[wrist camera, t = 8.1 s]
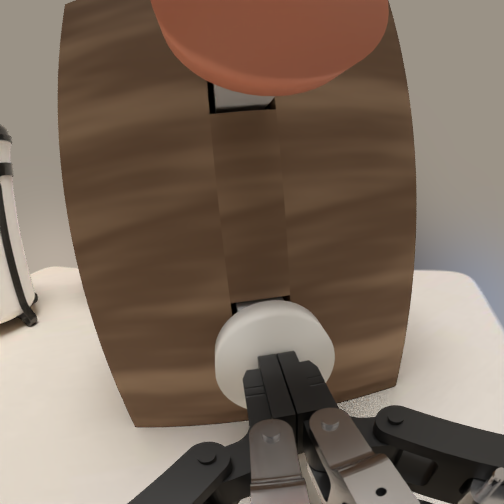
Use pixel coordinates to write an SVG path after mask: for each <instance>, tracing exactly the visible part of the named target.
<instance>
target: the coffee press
mask: <svg viewBox="0 0 504 504" xmlns="http://www.w3.org/2000/svg"><path fill="white" fill-rule="evenodd" d="M11 144H12V137H11V136H10V135H9V134H8V131H7V129H6V128H5V127H4V126H2V125H0V324H1V323H4V322H7V321H9V320H11V319H13V318H15V317H18V318H20V319H22V320H23V321H24V322H25V324H26V325H28V326H29V327H30V326H32V325H33V324H34V323H36V322H37V316H36V315H35V313H34V312H33V311H32V309H31V308H30V306H31V304H32V303H35V302H37V300H38V296H37V294H36V293H35V292H34V288H33V284H32V280H31V277H30V273H29V269H28V265H27V261H26V257H25V253H24V248H23V244H22V239H21V234H20V229H19V223H18V217H17V211H16V205H15V198H14V190H13V181H12V177H13V167H12V163H11V159H10V147H11ZM23 312H24V313H23Z"/></svg>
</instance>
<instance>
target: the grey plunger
mask: <svg viewBox="0 0 504 504" xmlns="http://www.w3.org/2000/svg"><path fill="white" fill-rule="evenodd" d="M235 307H236V314H234V315H233V316H232V317H231V318H230V319H229V320H228V321H227V322H226V323H225V324H224V326H223V327H222V329H221V330H220V332H219V334H218V337H217V339H216V344H215V374H216V380H217V383H218V385H219V387H220V389H221V391H222V392H223V394H224V395H225V396H226V397H227V398H228V399H229V400H231V401H232V402H233V403H235V404H237V405H239V406H241V407H243V408H246V409H247V406H246V400H245V393H244V386H243V377H244V375H245V372H246V370H252V369H259V368H258V356H264V355H271V354H277V353H283V352H289V351H295V353H296V355H297V357H298V360H299V362H301V361H307V360H309V361H311V362H312V363H313V364H315V365H316V366H317V367H318V368H319V370H320V372H321V374H322V376H323V378H324V380H325V383H326V382H327V380H328V378H329V377H330V375H331V372H332V370H333V366H334V361H335V352H334V347H333V344H332V341H331V340H330V338H329V336H328V335H327V333H326V332H325V330H324V329H323V327H322V325H321V324H320V322H319V321H318V319H317V318H316V317H315V316H314V315H313V314H312V313H311V312H310V311H309V310H308V309H306V308H304V307H303V306H301V305H298V304H296V303H293V302H289V301H284V299H283V297H282V296H281V297H274V298H267V299H259V300H252V301H244V302H236V303H235Z"/></svg>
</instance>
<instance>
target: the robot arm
mask: <svg viewBox="0 0 504 504" xmlns="http://www.w3.org/2000/svg"><path fill="white" fill-rule="evenodd" d="M258 368H259V369H252V370H246V372H245V375H244V377H243V386H244V393H245V400H246V406H247V413H248V419H249V431H248V433H247V434H246V436H245V437H244V438H243V439H241V440H240V441H238V442H236V443H234V444H231V445H228V446H226V447H224V446H223V445H221V444H219V443H215V442H203V443H199V444H196V445H194V446H193V447H191V448H190V449H189V450H188V451H187V452H186V453H185V454H184V455H183V456H182V457H180V458H179V459H178V460H177V461H176V462H175V463H174V464H173V465H172V466H171V467H170V468H168V469H167V470H166V471H165V472H164V473H163V474H162V475H161V476H160V477H158V478H157V479H156V480H155V481H154V482H153V483H151V484H150V485H149V486H148V487H147V488H146V489H144V490H143V491H142V492H141V493H140V494H139V495H137V496H136V497H135V498H134V499H132V500H131V501H130V502H129V503H128V504H238V503H239V501H240V500H241V499H244V498H246V497H249V496H251V504H310V502H309V497H308V492H307V487H306V483H305V479H304V478H303V477H302V474H301V469H300V464H299V459H298V454H299V453H304V452H305V455H306V458H307V470H308V472H309V475H310V477H311V479H312V481H313V484H314V486H315V488H316V491H317V493H318V495H319V497H320V500H321V502H322V504H432V503H430V502H427V501H423V500H419V499H417V498H416V497H415V495H414V494H413V492H415V493H418V494H421V495H424V496H427V497H430V498H434V499H437V500H440V501H444V502H447V503H451V504H504V435H502V434H498V433H494V432H489V431H485V430H481V429H477V428H473V427H469V426H466V425H462V424H458V423H455V422H451V421H448V420H444V419H441V418H438V417H434V416H431V415H428V414H424V413H421V412H418V411H415V410H412V409H409V408H406V407H403V406H397V405H393V406H388V407H385V408H383V409H381V410H380V411H379V412H378V414H377V415H376V417H370V418H356V417H351V416H349V415H348V413H346V412H345V411H343V410H341V409H339V408H338V406H337V404H336V402H335V400H334V398H333V396H332V394H331V392H330V390H329V388H328V386H327V384H326V383H325V380H324V378H323V376H322V374H321V372H320V370H319V368H318V367H317V366H316V365H315V364H313V363H312V362H311V361H309V360H307V361H301V362H299V360H298V357H297V355H296V353H295V351H289V352H283V353H277V354H271V355H264V356H258Z"/></svg>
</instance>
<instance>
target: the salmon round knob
mask: <svg viewBox="0 0 504 504" xmlns="http://www.w3.org/2000/svg"><path fill="white" fill-rule="evenodd" d="M151 4H152V8H153V10H154V13H155V15H156V18H157V21H158V23H159V26H160V28H161V31H162V34H163V36H164V38H165V40H166V42H167V44H168V46H169V48H170V49H171V51H172V52H173V54H174V55H175V56H176V57H177V58H178V59H179V60H180V61H181V63H182V64H183V65H185V66H186V67H187V68H188V69H190V70H191V71H192V72H193V73H195V74H196V75H198V76H200V77H201V78H203V79H205V80H206V81H209V82H211V83H212V88H213V100H214V112H215V114H217V113H228V112H240V111H254V110H264V109H265V108H266V106H267V105H268V104H269V103H270V102H271V101H272V99H273V98H274V97H275V96H286V95H293V94H298V93H303V92H306V91H310V90H313V89H316V88H318V87H320V86H322V85H324V84H326V83H328V82H329V81H331V80H332V79H334V78H335V77H337V76H338V75H340V74H341V73H343V72H344V71H346V70H347V69H349V68H350V67H352V66H353V65H355V64H357V63H358V62H360V61H361V60H363V59H364V58H365V57H366V56H368V55H369V54H370V53H371V52H372V51H373V50H374V49H375V48H376V46H377V45H378V44H379V43H380V41H381V39H382V37H383V35H384V33H385V30H386V27H387V24H388V16H389V8H388V0H151Z"/></svg>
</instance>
